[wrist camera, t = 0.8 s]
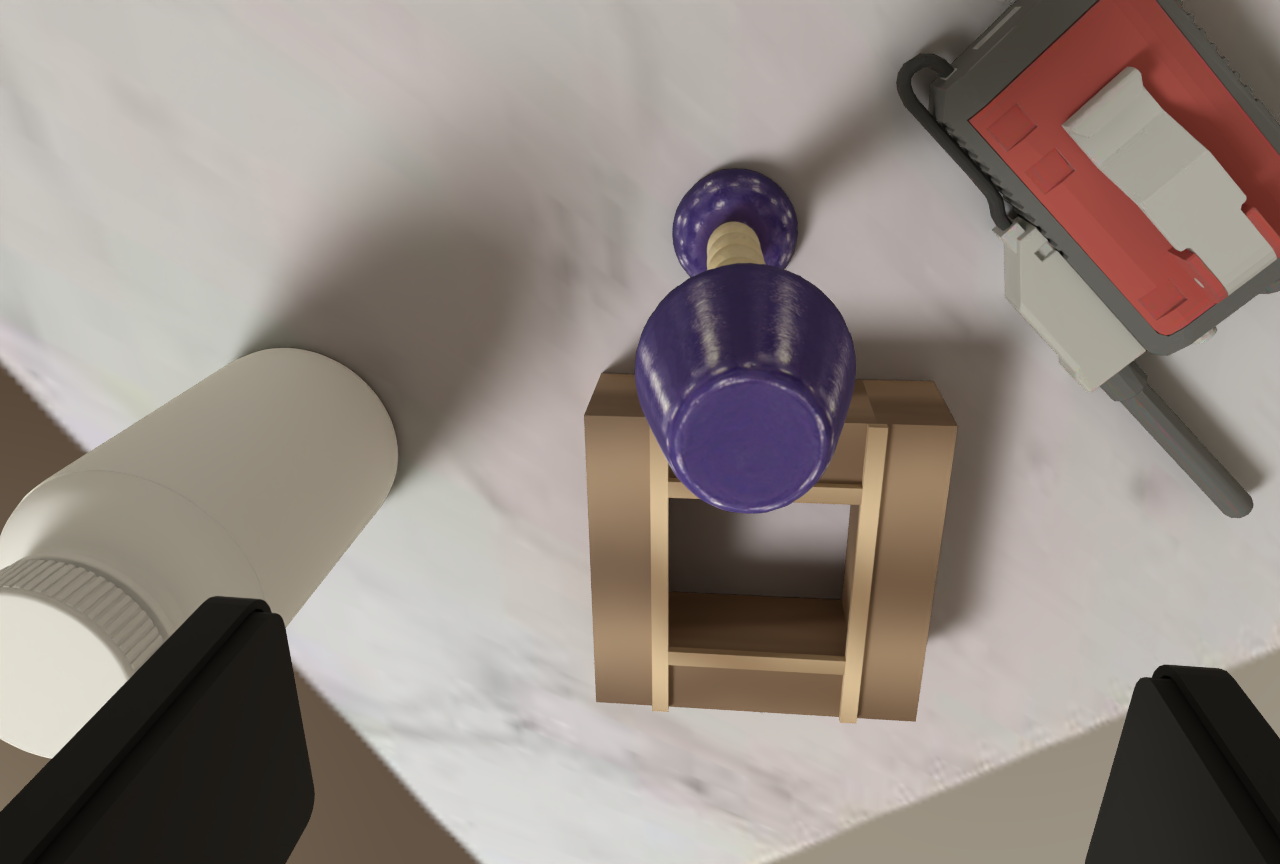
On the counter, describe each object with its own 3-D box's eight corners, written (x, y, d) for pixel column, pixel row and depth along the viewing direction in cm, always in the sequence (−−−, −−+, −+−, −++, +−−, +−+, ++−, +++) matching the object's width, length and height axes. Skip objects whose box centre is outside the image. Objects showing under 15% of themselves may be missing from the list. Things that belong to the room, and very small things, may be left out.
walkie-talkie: (836, 124, 29) (1199, 512, 34) (851, 139, 25) (1261, 578, 30) (1065, -106, 26) (1433, 356, 30) (1123, -129, 22) (1538, 405, 26)
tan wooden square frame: (601, 373, 33) (582, 418, 29) (933, 381, 32) (959, 430, 28) (610, 638, 38) (595, 707, 34) (898, 653, 37) (916, 727, 33)
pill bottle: (229, 308, 34) (-115, 496, 20) (428, 392, 34) (222, 630, 21) (191, 477, 37) (-126, 736, 24) (374, 551, 38) (165, 847, 24)
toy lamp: (827, 183, 30) (914, 344, 15) (794, 317, 32) (840, 580, 17) (685, 157, 30) (626, 289, 15) (661, 291, 32) (586, 530, 17)
